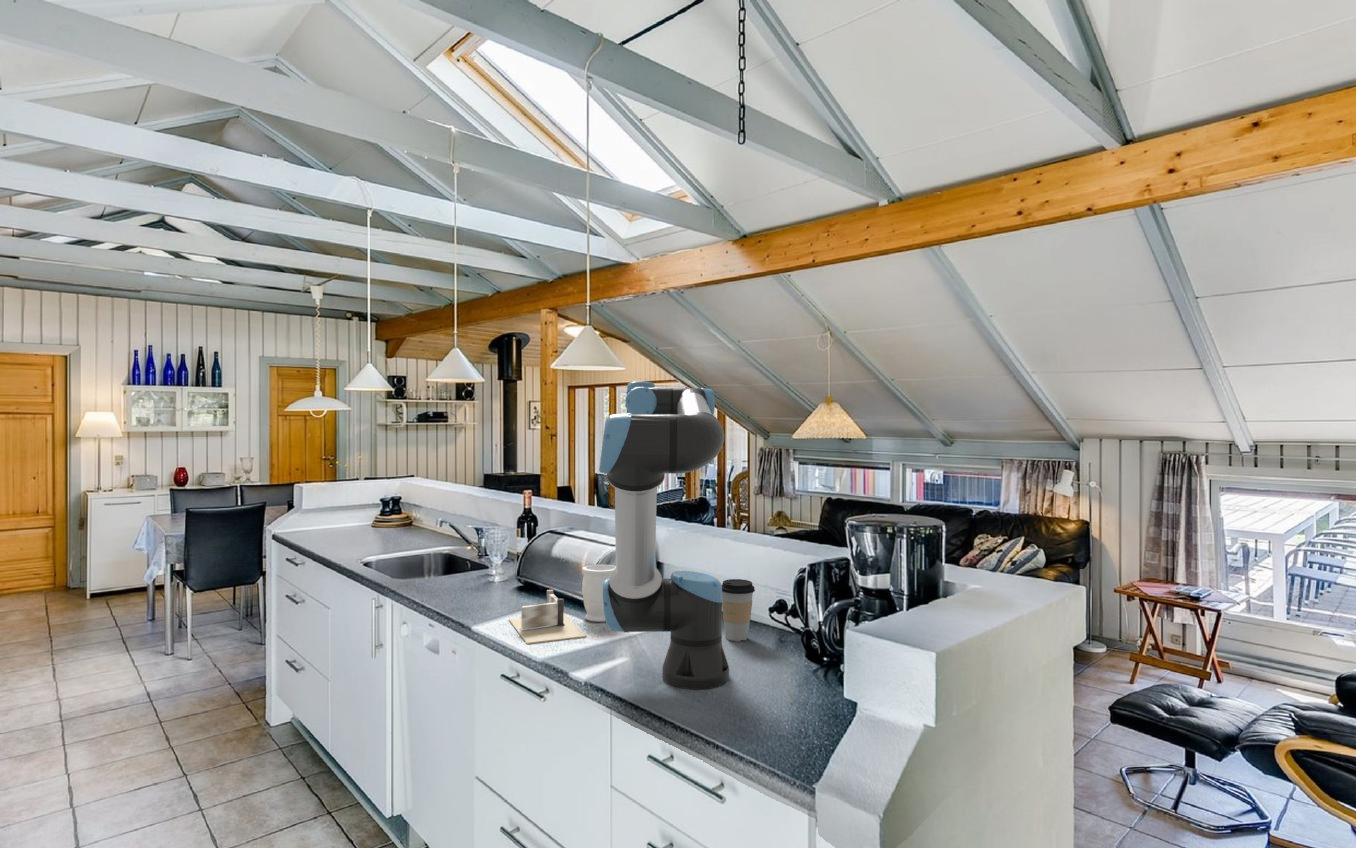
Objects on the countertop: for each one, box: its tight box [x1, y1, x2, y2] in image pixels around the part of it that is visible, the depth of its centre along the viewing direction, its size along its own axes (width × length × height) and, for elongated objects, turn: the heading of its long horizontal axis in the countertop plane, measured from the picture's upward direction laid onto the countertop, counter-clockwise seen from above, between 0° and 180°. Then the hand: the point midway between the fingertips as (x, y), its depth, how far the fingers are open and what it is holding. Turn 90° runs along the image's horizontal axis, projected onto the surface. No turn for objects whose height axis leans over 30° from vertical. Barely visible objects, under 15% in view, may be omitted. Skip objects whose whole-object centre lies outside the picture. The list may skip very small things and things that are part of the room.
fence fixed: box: [546, 589, 565, 626], centre depth 201 cm, size 14×2×7 cm, turn 24°
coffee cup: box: [721, 578, 756, 642], centre depth 188 cm, size 9×9×15 cm
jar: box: [581, 563, 616, 623], centre depth 205 cm, size 11×10×15 cm
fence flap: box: [520, 598, 565, 630], centre depth 194 cm, size 12×2×7 cm, turn 121°
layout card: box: [508, 614, 587, 645], centre depth 195 cm, size 24×16×1 cm, turn 24°
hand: (639, 529), depth 185 cm, fingers closed
